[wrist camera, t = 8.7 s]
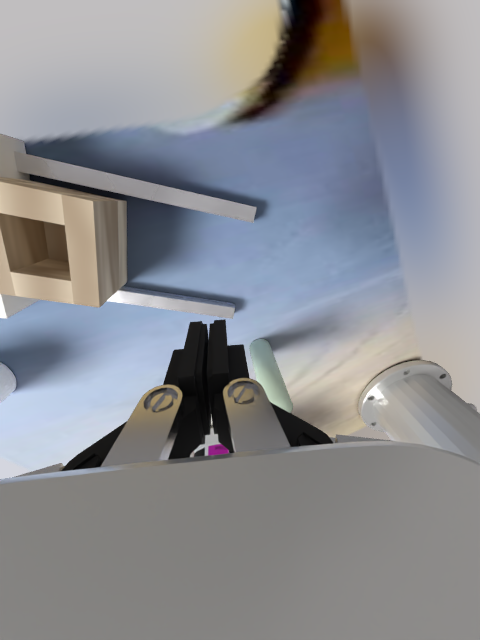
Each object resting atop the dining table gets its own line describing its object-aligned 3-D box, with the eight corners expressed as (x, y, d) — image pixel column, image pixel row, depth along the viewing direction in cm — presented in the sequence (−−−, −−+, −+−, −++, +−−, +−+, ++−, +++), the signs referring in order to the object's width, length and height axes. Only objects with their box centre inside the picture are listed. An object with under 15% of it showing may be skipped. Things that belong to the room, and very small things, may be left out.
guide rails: (254, 206, 20) (256, 207, 19) (232, 313, 25) (232, 318, 24) (26, 154, 17) (13, 151, 16) (47, 286, 22) (38, 291, 21)
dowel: (272, 340, 27) (296, 399, 19) (266, 357, 28) (287, 420, 20) (252, 337, 26) (268, 396, 18) (247, 354, 27) (260, 418, 19)
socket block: (126, 201, 19) (92, 201, 14) (127, 281, 22) (99, 307, 17) (30, 180, 18) (-48, 171, 13) (44, 268, 21) (-14, 292, 16)
